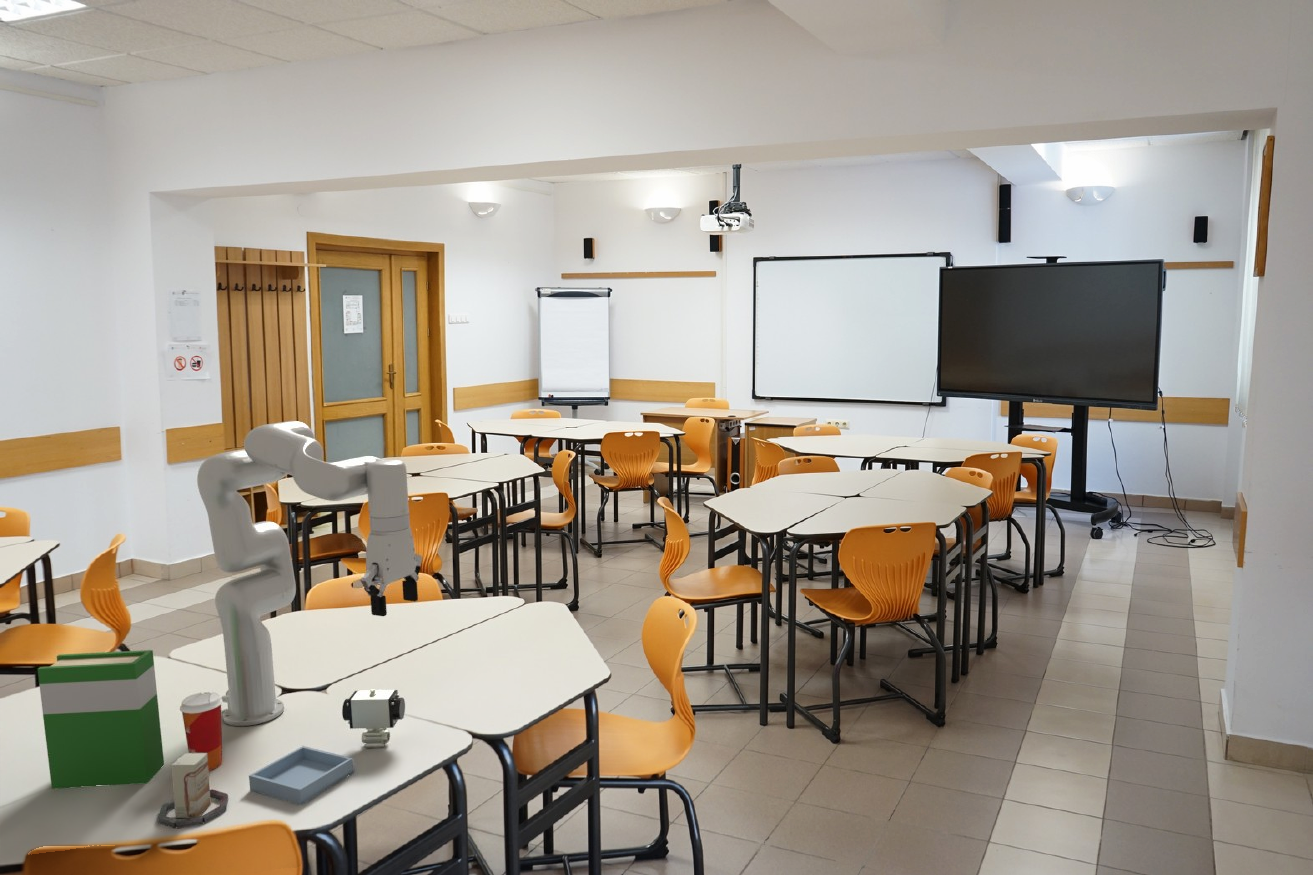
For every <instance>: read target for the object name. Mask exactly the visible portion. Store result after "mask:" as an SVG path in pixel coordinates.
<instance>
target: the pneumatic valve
mask: <svg viewBox="0 0 1313 875" xmlns="http://www.w3.org/2000/svg"><path fill="white" fill-rule="evenodd" d="M341 711H342V712H341V715H342V719H343V721H346V722H347V721H348V722H347V724H348V725H349V729H350V730H351V729H352V730H353V729H365V730H364V731H363V732H362V734H361V742H362V744H364V745H363V746H364V748H366V749H374V748H375V749H380V748H384V747H385V744H388V743H389V742H390V739H391V732H390V731H389V730H387V729H391V728H392V729H393V728H394V727H395V726H396V724H397V723H398V721H399V720H403V719H404V716H405V714H406V713H405V712H406V702H405V698H404V697H400V694H399V692H398V689H381V688H380V689H378V690H377V689H376V688H373V689H369V690H354V692H353V693H352V694H351V695H350V697H349V698H345V700H343V704H342V709H341Z"/></svg>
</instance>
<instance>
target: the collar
mask: <svg viewBox="0 0 1313 875" xmlns="http://www.w3.org/2000/svg"><path fill="white" fill-rule="evenodd" d="M210 799H214V800H218V801H219V802H220V803H219V806H217V807H215V808H213V809H211V810H210V811H208V812H206V813H205V814H203V815H200V816H199V817H193V818H182V819H177V818H173V817H170V816H167V815H168V813H169V811H170V810H172V809H175V803H174V798H172V799H171V800H170V801H168V802H166V803H164V804H162V805H161V807H160V811H159V814H158V816H157V821H158V822H157V823H158V824H159V825H164V826H165V827H169V828H173V829H181V828H187V827H192V826H199V825H203V824H206V823H208V822H209V821H212V820H213V819H215V818H217V817H218V816H220V815H222V814H224V813H225V812H226V811H227V808H228V803H229V794H228V793H226V792H222V791H220V790H217V789H211V788H210Z"/></svg>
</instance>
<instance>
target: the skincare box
mask: <svg viewBox="0 0 1313 875" xmlns="http://www.w3.org/2000/svg"><path fill="white" fill-rule="evenodd" d="M171 773H172V774H171V775H172V787H173V799H174V803H175V807H174V815H175V819H177V818H180V819H181V818H182V819H188V818H193V817H199V816H202V814H203V813H205V812H206V810H207V809H209V807H210V806H211V803H212V802H211V801H212V800H211V798H210V790H211V788H210V787H211V786H210V771H208V758H207V753H189V752H185V753H182V754H181V755H180V757H178V758H177V759H176V760H175V761H174V762H173V763H172V764H171Z"/></svg>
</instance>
